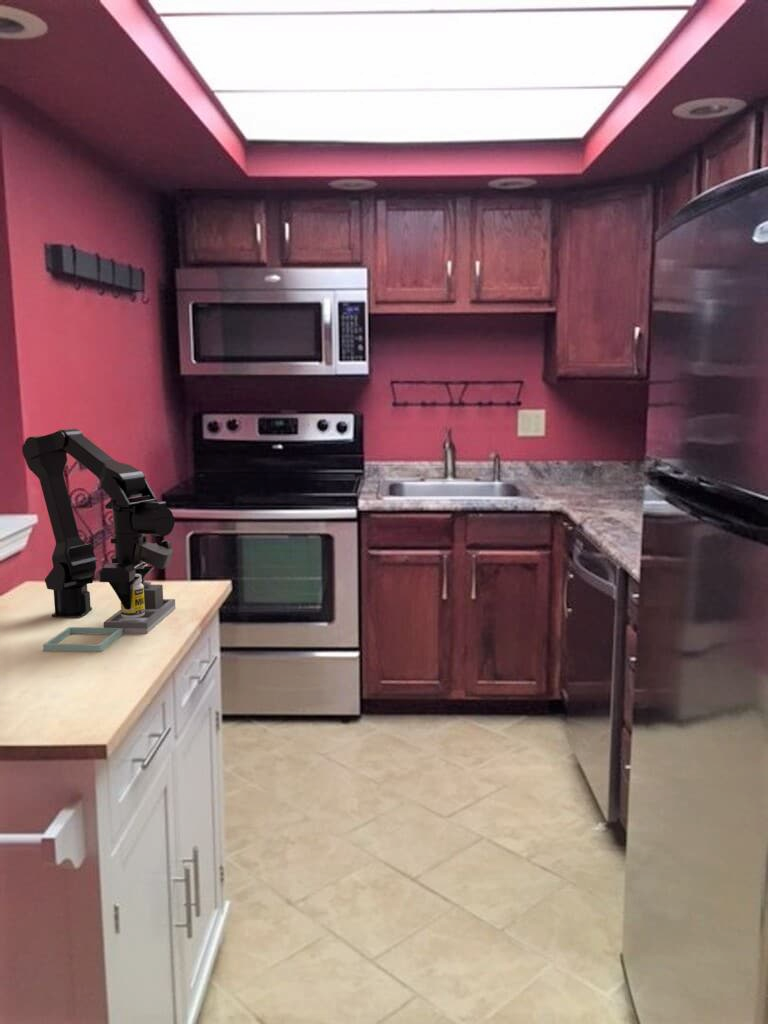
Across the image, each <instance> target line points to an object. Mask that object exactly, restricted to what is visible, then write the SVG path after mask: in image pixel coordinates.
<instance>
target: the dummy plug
mask: <svg viewBox="0 0 768 1024" xmlns="http://www.w3.org/2000/svg"><path fill="white" fill-rule="evenodd" d="M143 586H144V604H145V609H159V608H161V607H162V606H163V605H164V604H163V599H164V590H163V589H164V587H163V586H164V585H163V584H152V581H151V580H145V581H144V585H143Z"/></svg>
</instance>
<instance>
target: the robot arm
mask: <svg viewBox="0 0 768 1024" xmlns="http://www.w3.org/2000/svg"><path fill="white" fill-rule="evenodd" d="M21 450H22V451H21V452H22V455H23V457H24V461H25V463H26V466H27V468H28V469H29V470H30V471H31V472H32V473H33V474H34V476H36V477H37V478H38V480H39V483H40V487H41V491H42V494H43V495H42V496H43V499H44V502H45V505H46V509H47V514H48V517H49V521H50V524H51V525H50V526H51V528H52V529H51V530H52V533H53V537H54V542H55V546H54V549H53V552H52V556H51V560H52V566H53V567H52V569H51V570H50V572H49V573H48V575H46V577H45V578H44V583H45V586H46V589H48V590H51V591H53V600H54V612H53V613H52V614H51V617H52V618H82V617H83V616H84V615H85V614H87V613H89V612H91V610H93V608H92V606H91V605H92V604H91V592H90V591H88V585H89V584H93V583H94V580H95V579H94V577H95V573H96V570H97V561H98V559H97V557H96V555H95V551H94V546H93V544H92V543H91V542H89V543H86V542H85V541H84V540H83V539H82V538H81V536H80V532H79V528H78V525H77V521H76V518H75V514H74V509H73V506H72V502H71V498H70V493H69V491H68V487H67V482H66V480H65V475H64V472H65V470H66V465H67V462H68V455H69V456H71V457H72V458H73V459H74V460H76V462H78V463H79V464H80V465H81V466H82V467H84V468H86V469H87V470H88V471H89V472H90V473H91V474H92V475H94V476H96V478H97V479H98V480H99V484H100V489H102V490H103V491H104V492H105V494H107V496H108V497H109V498H110V500H109V501H108V502H107V503H106V504H105V505H104V509H106V510H112V522H113V537H111V538H110V544H114V556H113V557H111V563H108V564H106V565H105V566H103V567H102V568H100V570H99V571H98V575H97V576H98V582H100V583H108V584H109V585H110V586H111V588H112V590H113V591H114V593H115V594H116V595H117V597H118V599H119V601H120V604H121V603H122V605H123V606H124V608H125V609H131V603H132V592H133V584H134V583H135V582H136V581H137V580H138V579H139V577H135V574H140V575H141V577H142V582H141V583H142V584H143V585H144V582H145V581H146V577H147V576H148V574H149V573H150V572H152V571H153V569H154V568H156V569H160V570H164V569H165V568H166V567H169V566H170V565H169V564H170V562H171V559H172V557H173V556H174V554H175V553H174V549H173V548H172V544H171V541H169V540H167V539H166V540H165V539H162V541H160V542H159V544H158V543H156V542H154V543H153V542H149V537H148V535H149V536H158V537H167V536H168V535H170V534H171V532H173V530H174V527H175V522H176V521H175V516H174V514H173V512H172V511H171V510H170V508H168V507H167V503H166V501H158V499H157V496H156V494H155V492H154V491H153V490H152V488H151V487H150V485H149V483H148V481H147V479H146V476H145V474H144V473H143V471H141V469H138V468H136V467H135V466H132V465H130V464H127V463H123V462H120V461H117V460H115V459H114V458H113V457H112V456H110V455H109V454H108V453H106V452H105V451H104V450H103V449H102V448H100V447H99V446H97V445H96V444H95V443H93V441H91V440H90V439H88V438H87V437H86V436H85V435H84V434H83V432H82V431H81V430H80V429H77V428H68V429H66V428H65V429H60V430H59V429H58V430H57V431H55V432H52V433H49V434H46V435H37V436H36V435H35V436H28V437H27V438H26V439H25V441H24V443H23V445H22V447H21ZM67 454H68V455H67ZM148 565H149V566H148ZM150 565H151V566H150Z"/></svg>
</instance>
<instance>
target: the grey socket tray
mask: <svg viewBox="0 0 768 1024" xmlns="http://www.w3.org/2000/svg"><path fill="white" fill-rule="evenodd" d="M163 604H164V605H163V606H162V607H161V608H159V609H145V614H144V615H143V616H141V617H137V618H125V617H122V615H121V609H119V610H118V611H117V612H116V613H114V614H112V616H109V618H107V619H106V620H104V621H103V628H123V634H149V633H150V632H151V631H152V630H153V629H155V627H156V625H159V624H160V623H161V622H162V621H163V620H165V619H166V618H167V617H169V615H170V614H171V613H173V610H174V611H175V610H176V609H177V608H176V599H175V598H163ZM166 616H167V617H166ZM165 617H166V618H165ZM150 630H151V631H150ZM149 631H150V632H149ZM148 632H149V633H148Z"/></svg>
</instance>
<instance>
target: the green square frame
mask: <svg viewBox="0 0 768 1024" xmlns="http://www.w3.org/2000/svg"><path fill="white" fill-rule="evenodd" d="M71 634H73V635H74V634H75V635H108V637H107V638H105V639H104V640H102V641H101V642H100V643H99V644H95V643H94V644H91V643H89V644H88V643H87V644H86V643H85V644H84V643H83V644H82V643H81V644H80V643H78V644H77V643H60V642H61V641H62V640H64V639H66V637H69V636H70V635H71ZM123 634H124V633H123V628H104V627H99V626H98V627H97V626H95V627H90V626H89V627H88V626H68V627H67V628H65V629H64V630H63V631H61V632H60V633H58V634H56V635H55V636H54V637H52V638H51V639H49V640H48V641H47V642H45V643H43V645H42V647H43V651H44V652H46V651H47V652H48V651H49V652H51V651H52V652H91V653H92V652H94V653H95V652H96V653H97V652H98V653H99V652H100V653H101V652H102V651H104V650H105V649H106V648H107V647H109V646H110V645H112V644H113V642H115V641H116V640H117V639H118V638H119V637H121V636H122V635H123Z"/></svg>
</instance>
